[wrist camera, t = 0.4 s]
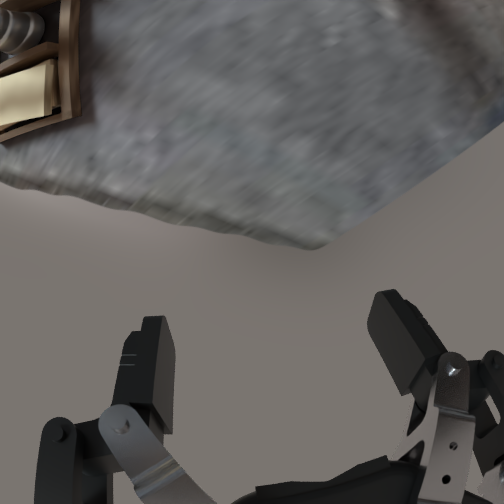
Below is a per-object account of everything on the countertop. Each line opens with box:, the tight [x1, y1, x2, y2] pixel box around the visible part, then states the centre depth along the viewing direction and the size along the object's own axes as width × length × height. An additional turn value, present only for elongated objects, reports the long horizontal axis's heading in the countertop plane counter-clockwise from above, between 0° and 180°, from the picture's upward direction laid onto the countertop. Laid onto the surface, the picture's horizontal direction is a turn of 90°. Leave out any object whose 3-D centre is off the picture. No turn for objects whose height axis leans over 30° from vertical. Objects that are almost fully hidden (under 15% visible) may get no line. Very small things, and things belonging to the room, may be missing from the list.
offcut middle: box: [0, 59, 61, 131], centre depth 24 cm, size 6×11×2 cm, turn 94°
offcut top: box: [0, 64, 54, 126], centre depth 23 cm, size 6×11×2 cm, turn 84°
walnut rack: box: [0, 0, 82, 142], centre depth 20 cm, size 20×16×8 cm
